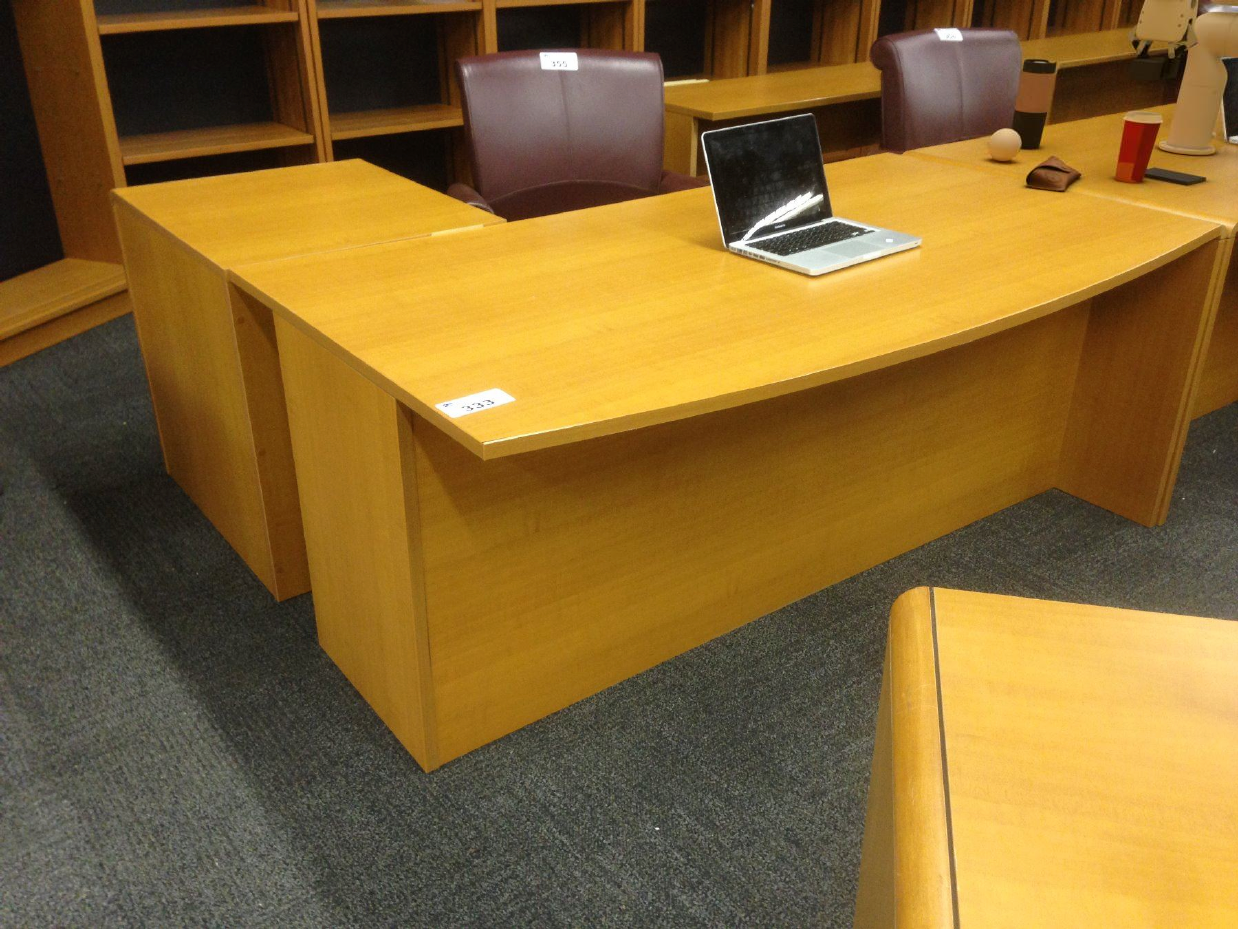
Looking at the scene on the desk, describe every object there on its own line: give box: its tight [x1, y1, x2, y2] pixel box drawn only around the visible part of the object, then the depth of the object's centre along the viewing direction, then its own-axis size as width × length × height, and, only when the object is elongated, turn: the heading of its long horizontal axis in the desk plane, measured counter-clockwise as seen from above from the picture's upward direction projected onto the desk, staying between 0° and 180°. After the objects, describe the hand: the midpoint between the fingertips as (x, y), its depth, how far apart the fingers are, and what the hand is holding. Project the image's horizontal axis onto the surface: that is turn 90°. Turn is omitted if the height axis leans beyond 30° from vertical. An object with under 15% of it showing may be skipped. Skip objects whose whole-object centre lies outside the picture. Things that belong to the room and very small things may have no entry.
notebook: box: [1144, 166, 1207, 186], centre depth 232 cm, size 8×12×1 cm, turn 37°
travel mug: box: [1011, 58, 1058, 150], centre depth 256 cm, size 8×8×20 cm
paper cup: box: [1114, 110, 1164, 184], centre depth 226 cm, size 8×8×14 cm
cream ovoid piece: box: [987, 128, 1022, 162], centre depth 244 cm, size 10×7×7 cm
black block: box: [1127, 57, 1181, 82], centre depth 219 cm, size 10×5×4 cm, turn 127°
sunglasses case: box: [1025, 155, 1082, 192], centre depth 226 cm, size 18×7×7 cm, turn 149°
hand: (1152, 75), depth 219 cm, fingers closed on black block, 5 cm apart
